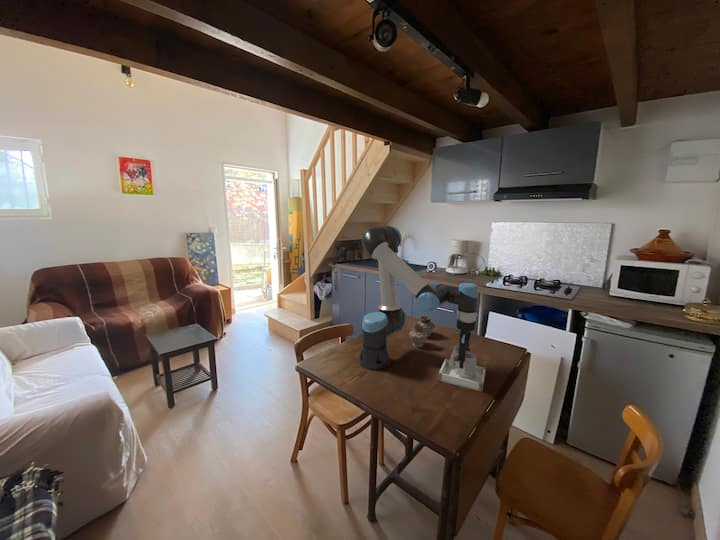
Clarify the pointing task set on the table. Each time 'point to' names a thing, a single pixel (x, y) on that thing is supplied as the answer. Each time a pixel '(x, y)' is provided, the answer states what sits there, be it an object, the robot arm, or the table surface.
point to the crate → (453, 378)
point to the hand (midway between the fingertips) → (462, 369)
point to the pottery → (421, 331)
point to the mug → (469, 364)
